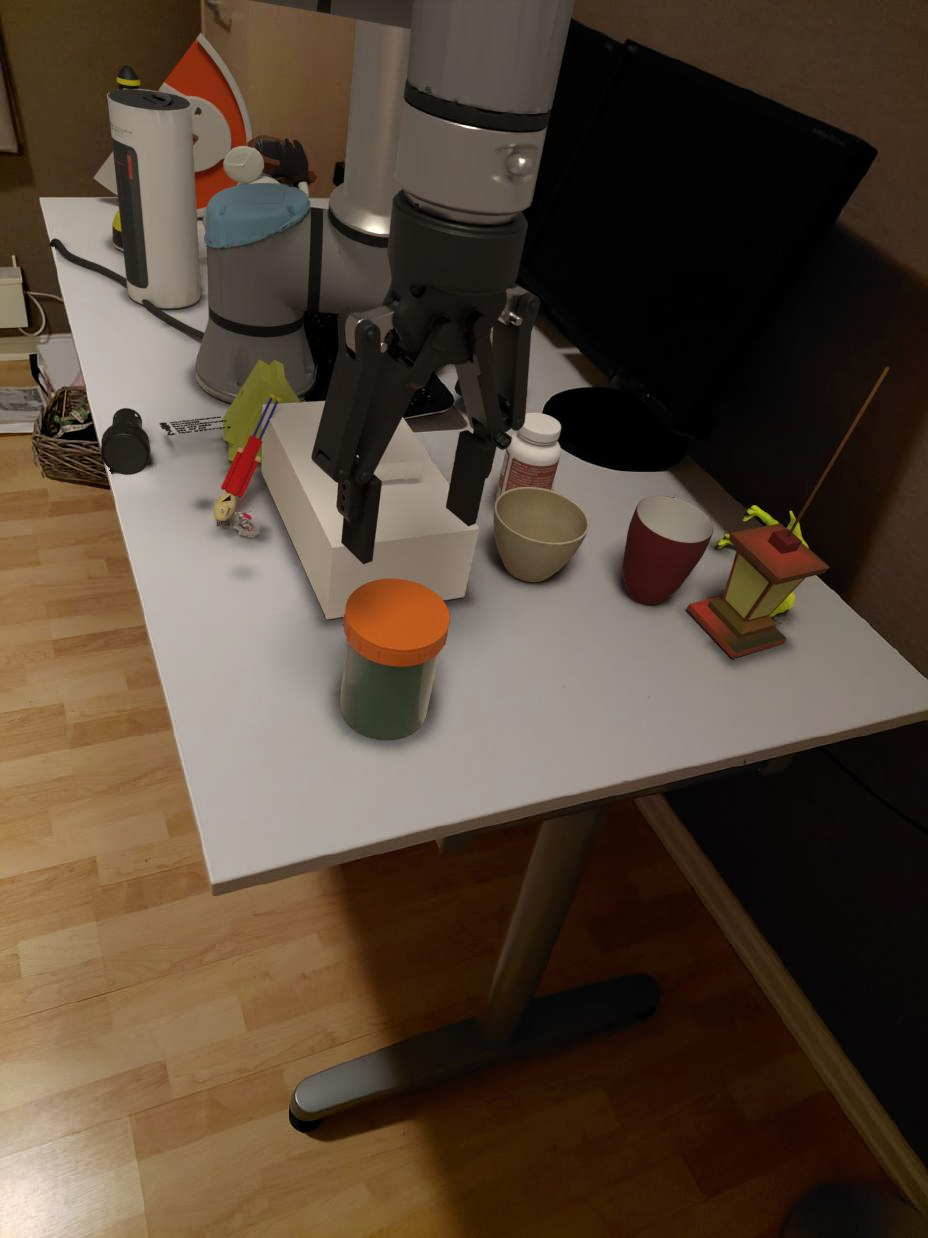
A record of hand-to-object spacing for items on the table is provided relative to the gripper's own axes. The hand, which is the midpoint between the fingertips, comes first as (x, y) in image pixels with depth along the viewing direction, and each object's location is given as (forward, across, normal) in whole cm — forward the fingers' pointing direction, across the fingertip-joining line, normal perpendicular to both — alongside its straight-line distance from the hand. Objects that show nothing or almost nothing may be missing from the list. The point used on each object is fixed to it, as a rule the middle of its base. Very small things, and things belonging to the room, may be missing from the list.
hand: (410, 532), depth 61 cm
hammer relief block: (+19, +12, +22) cm, 31 cm away
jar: (+19, 0, 0) cm, 19 cm away
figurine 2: (+19, +1, +27) cm, 33 cm away
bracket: (+13, +9, +41) cm, 44 cm away
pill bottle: (+19, +32, +17) cm, 41 cm away
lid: (+8, 0, 0) cm, 8 cm away
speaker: (+19, +20, +83) cm, 87 cm away
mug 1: (+19, +48, +96) cm, 109 cm away
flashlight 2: (+18, +3, +49) cm, 52 cm away
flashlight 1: (+19, +24, +101) cm, 106 cm away
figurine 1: (+11, +10, +37) cm, 40 cm away
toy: (+10, +59, +84) cm, 103 cm away
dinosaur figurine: (+19, +52, 0) cm, 56 cm away
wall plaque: (+20, +31, +116) cm, 121 cm away
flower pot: (+19, +25, +8) cm, 33 cm away
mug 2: (+19, +35, -2) cm, 40 cm away
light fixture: (+19, +38, -10) cm, 44 cm away
